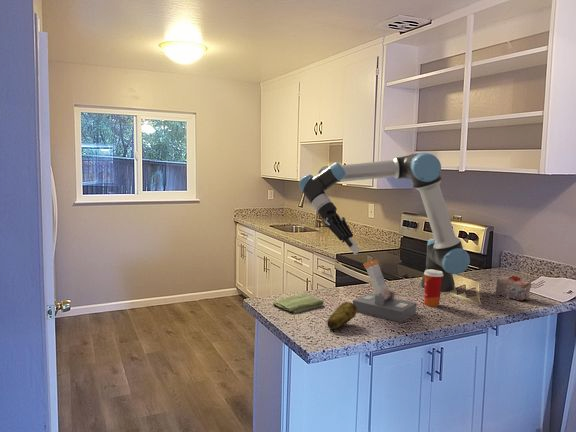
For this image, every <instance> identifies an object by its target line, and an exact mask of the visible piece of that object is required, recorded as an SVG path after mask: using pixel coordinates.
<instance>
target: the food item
mask: <svg viewBox="0 0 576 432" xmlns="http://www.w3.org/2000/svg"><path fill="white" fill-rule="evenodd" d="M531 287H532V282H528V281H524V280H521V277H519V276H517V275H514V276H513V275H511V276H499V277H497V278H496V287H495V288H496V289H495V295H496V294H497V295H496V296H499V295H502V296H501V297H503V296H505V297H504V298H506V297H508V298H513V299H512V300H514V299H518V300H521V301H520V302H523V301H522V300H526V301H528V300H527V299H529V300H530V293H531ZM518 300H517V301H518Z"/></svg>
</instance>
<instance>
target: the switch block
mask: <svg viewBox="0 0 576 432" xmlns="http://www.w3.org/2000/svg"><path fill="white" fill-rule="evenodd" d="M389 292H390V294H391V299H389V300H387V301H385V302H384V296H383V295H378V294H377V295H376V293H372V292H369V293H366V294H364V295H362V296H359V297H357V298H355V299H353V300H352V304H354V305H355V306H356V307H357V312H358V313H362V314H366V315H370V316H375V317H377V318H381V319H386V320H390V321H393V322H397V323H402V322H404V321H406V320H407V319H409V318H411V317H412V316H414V315H415V314H416V313H417V305H418V303H417V302H414V301H410V300H409V301H408V300H404V299H400V298H396V297H395V293H396V292H395V290H391V289H389ZM357 312H356V313H357Z"/></svg>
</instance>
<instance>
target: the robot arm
mask: <svg viewBox="0 0 576 432" xmlns="http://www.w3.org/2000/svg"><path fill="white" fill-rule="evenodd" d="M441 172H442V164H441V162H440V159H438V157H437V156H435V155H433V154H432V153H428V152H418V153H412V154H409V155H403V156H398V157H394V158H393V159H391V160H383V161H382V160H381V161H373V162H372V161H371V162H370V161H369V162H361V163H350V164H342V165H341V164H340V163H339V162H338V161H336V162H333V163H332V164H330V165H329V166H327V165H326V166H323V167H321V168H320V169H319V170H318V173H317V174H316V175H315V176H314V175H312V174H307V175H304V176H303V177H302V178H301V179H300V180H299V181H298V187H299V189H300V190H301V192H302V193H303V195H304V196H305V198H307V201H308V202H309V203H310V204H311V206H312V207H313V209H314V210H315V211H316V212H317V214H318V215H319V217H320V218H321V220H325V222H324V223H323V225H325V226H326V227H327V228H329V230H330V231H331V232H332V233H333V234H334V235H335V237H336V238H337V239H338V240H340V241H341V242H342V243H345V244H346V245H347V247H348V248H349V249H350V251H351V252H352V253H353V255H355V256H356V255H357V254H358V253H359V252H361V249H360V247H359V246H358V244H357V242H355V240H354V239H353V237H354V234H353V232H352V230H351V228H350V226H349V225H348V223H347V221H346V218H345V216H343V217H340V215H339V214H338V213H337V209H338V208H337V207H336V206H335V204H334V202H333V201H332V200H331V198H330V197H329V196H328V194H327V193H326V191H327V190H329V188H331V187H333V186H334V185H335V184H337V183H344V182H345V183H346V182H353V181H364V180H365V181H366V180H375V179H385V178H388V179H389V178H394V179H395V180H398V179H407V180H411V182H412V184H413V187H414V189H415V190H417V191H419V195H420V197H421V200H422V204H423V208H424V211H425V213H426V217H427V219H428V222H429V226H430V229H431V232H432V236H433V238H429V239H428V240H427V244H426V261H425V270H429V269H432V270H439V271H442V272H443V275H444V276H443V278H442V285H441V292H451V291H454V290H455V286H456V284H455V280H454V277H453V275H460V274H462V273H464V272H465V271H466V270H467V269H468V267H469V265H470V262H471V257H470V255H469V253H468V252H467V250H465V249H464V247H463V244H462V241H461V239H460V238H459V237H457V236H456V234H455V230H454V228H453V224H452V220H451V218H450V215H449V211H448V208H447V205H446V202H445V198H444V196H443V192H442V190H441V189H442V188H441V186H440V184H441V182H442V180H443V179H442V177H441ZM420 286H421V287H422V288H424V289H425V274H424V273H423V275H422V278H421V281H420Z"/></svg>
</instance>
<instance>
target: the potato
mask: <svg viewBox="0 0 576 432" xmlns="http://www.w3.org/2000/svg"><path fill="white" fill-rule="evenodd" d="M356 315H357V307H356V306H355V305H354V304H353V302H350V301H344V302H342V303H341V304H340V305H339V306H338V307H337V308H336V309H335V310H334V311H333V312H332V313H331V315H330V316H329V317H328V318H327V321H326V322H327V327H328V328H329V329H331V330H337V329H339V328H341V327H343V326H345V325H347V324H348V323H349V322H350V321H351V320H352V319H355V317H356Z"/></svg>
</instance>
